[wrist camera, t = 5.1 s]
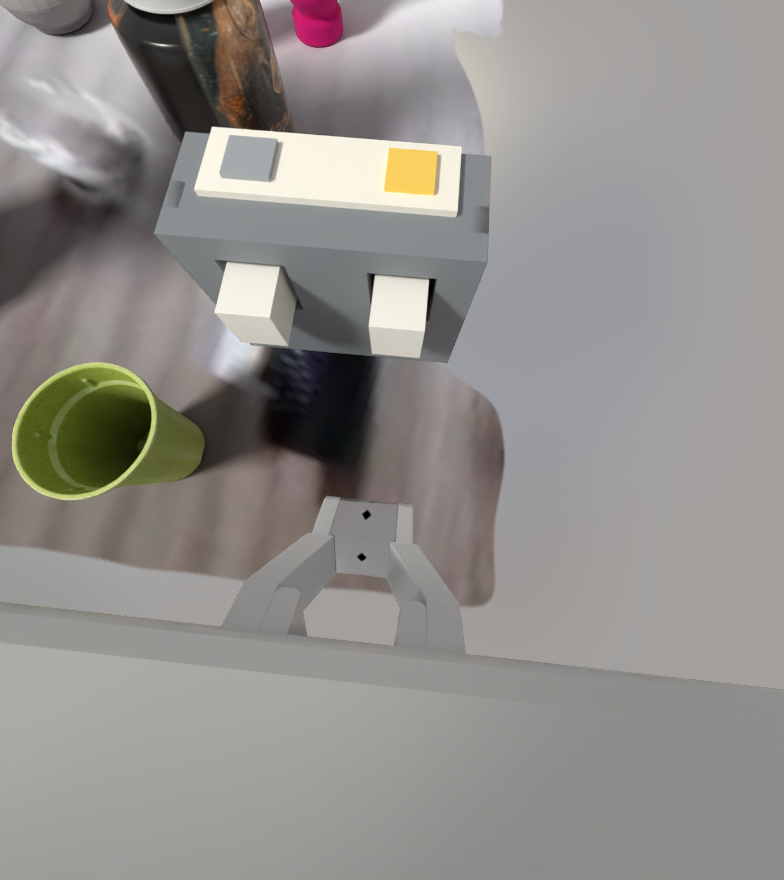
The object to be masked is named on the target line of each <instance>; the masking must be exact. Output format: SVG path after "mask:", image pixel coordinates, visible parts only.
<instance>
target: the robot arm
mask: <svg viewBox="0 0 784 880" xmlns="http://www.w3.org/2000/svg"><path fill="white" fill-rule="evenodd" d="M413 509H414V507H413V505H410V504H399V503H388V502H377V501H365V500H358V499H350V498H342V497H341V498H339V497H332V496H326V498H325V499H324V501H323V504H322V507H321V509H320V512H319V515H318V518H317V520H316V523H315V526H314V528H313V531H312V533H307V534H305V535H304V536H303V537H301V538H300V539H299V540H297V541H296V542H295V543H294V544H292V545H291V546H290V547H288V548H287V549H286V550H284V551H283V552H282V553H281V554H279V555H278V556H277V557H275V558H274V559H273V560H271V561H270V562H269V563H267V564H266V565H265V566H264V567H262V568H261V569H260V570H258V571H257V572H256V573H254V574H253V575H252V576H251V577H249V578H248V579H247V580H245V582H244V583H243V586H242V587H241V589H240V591H239V593H238V595H237V597H236V599H235V601H234V603H233V605H232V607H231V609H230V611H229V612H228V614H227V616H226V618H225V620H224V622H223V624H222V626H221V627H219V626H210V625H201V624H192V623H183V622H174V621H165V620H156V619H147V618H138V617H129V616H121V615H112V614H103V613H93V612H84V611H76V610H67V609H58V608H49V607H40V606H31V605H22V604H13V603H4V602H0V880H784V689H775V688H765V687H757V686H748V685H739V684H730V683H720V682H712V681H703V680H694V679H685V678H676V677H667V676H658V675H649V674H640V673H631V672H622V671H613V670H604V669H595V668H587V667H578V666H568V665H559V664H550V663H541V662H533V661H524V660H515V659H506V658H496V657H487V656H479V655H469V654H466V653H465V644H464V636H463V627H462V619H461V611H460V604H459V603H458V602H457V600H456V599H455V597H454V596H453V594H452V593H451V592H450V590H449V589H448V587H447V586H446V584H445V583H444V582H443V580H442V579H441V577H440V576H439V574H438V573H437V572H436V570H435V569H434V567H433V566H432V564H431V563H430V562H429V560H428V559H427V557H426V556H425V554H424V553H423V552H422V550H421V549H420V547H419V546H418V545H417V544H413ZM336 573H348V574H360V575H368V576H375V577H383V578H387V581H388V584H389V586H390V588H391V590H392V592H393V594H394V597H395V598H396V601H397V603H398V605H399V607H400V612H399V618H398V624H397V630H396V636H395V642H394V646H389V645H381V644H372V643H362V642H354V641H345V640H336V639H327V638H318V637H309V636H307V632H306V626H305V620H304V613H303V610H304V609H305V608H306V607H307V606H308V605H309V604H310V602H311V601H312V600H313V599H314V598H315V597H316V596H317V595H318V593H319V592H320V591H321V590H322V589H323V588H324V587H325V586H326V584H327V583H328V582H329V581H330V580H331V579H332V578H333V577H334V575H335V574H336Z"/></svg>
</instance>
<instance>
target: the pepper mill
mask: <svg viewBox="0 0 784 880" xmlns="http://www.w3.org/2000/svg"><path fill="white" fill-rule="evenodd" d="M290 1H291V2H292V3H293V5H294V7H293V12H292V15H293V20H294V25H295V30H296V34H297V36H298V38H299V39H300V40H301V41H302V42H303V43H304V44H306V45H309V46H312V47H325V46H329V45H331V44H333V43H335V42H336V41H338V40H339V38H340V37H341V35H342V32H343V24H342V14H341V8H340V6H339V4H338V3H337V0H290Z"/></svg>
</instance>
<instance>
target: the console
mask: <svg viewBox="0 0 784 880" xmlns="http://www.w3.org/2000/svg"><path fill="white" fill-rule="evenodd" d="M461 150H462V146H449V145H437V144H424V143H411V142H399V141H386V140H374V139H361V138H348V137H336V136H323V135H310V134H298V133H285V132H273V131H260V130H247V129H235V128H222V127H212V128H211V132H210V134H207V133H195V132H185V135H184V138H183V141H182V144H181V147H180V151H179V154H178V157H177V160H176V163H175V167H174V170H173V173H172V176H171V180H170V183H169V186H168V189H167V192H166V196H165V199H164V202H163V205H162V208H161V212H160V215H159V218H158V221H157V224H156V228H155V231H154V234H155V236H156V237H157V238H158V239H159V240H160V241H161V242H162V244H163V245H164V246H165V247H166V248H167V249H168V250H169V252H170V253H171V254H172V255H173V256H174V257H175V258H176V260H177V261H178V262H179V263H180V264H181V265H182V266H183V268H184V269H185V270H186V271H187V272H188V273H189V274H190V276H191V277H192V278H193V279H194V280H195V281H196V282H197V284H198V285H199V286H200V287H201V288H202V289H203V290H204V292H205V293H206V294H207V295H208V296H209V297H210V298H211V300H212V301H213V302H214V303H215V304H217V300H218V296H219V292H220V288H221V284H222V280H223V276H224V272H225V268H226V264H227V261H234V262H246V263H257V264H269V265H280V266H284V267H285V269H286V272H287V274H288V276H289V278H290V280H291V283H292V285H293V287H294V289H295V292H296V294H297V301H296V306H295V312H294V317H293V323H292V328H291V333H290V339H289V344H288V346H280V345H269V344H258V343H250V344H251V345H257V346H268V347H279V348H290V349H300V350H311V351H322V352H333V353H344V354H355V355H366V356H377V357H388V358H399V359H410V360H421V361H432V362H444V363H447V362H448V360H449V357H450V355H451V352H452V350H453V347H454V345H455V342H456V339H457V337H458V335H459V332H460V330H461V327H462V325H463V322H464V320H465V317H466V314H467V312H468V310H469V307H470V305H471V302H472V299H473V297H474V294H475V292H476V290H477V287H478V285H479V282H480V280H481V277H482V275H483V272H484V269H485V267H486V264H487V259H488V232H489V206H490V177H491V156H483V155H471V154H461ZM375 274H384V275H396V276H407V277H419V278H429V286H428V298H427V310H426V322H425V333H424V338H423V343H422V348H421V353H420V358H412V357H401V356H390V355H379V354H372V350H371V342H370V334H369V319H370V311H371V303H372V295H373V287H374V280H375Z"/></svg>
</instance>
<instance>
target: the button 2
mask: <svg viewBox="0 0 784 880" xmlns="http://www.w3.org/2000/svg"><path fill="white" fill-rule="evenodd" d="M428 286H429V278H419V277H407V276H396V275H384V274H375V280H374V287H373V295H372V303H371V311H370V319H369V334H370V342H371V350H372V354H379V355H390V356H401V357H412V358H420V353H421V348H422V343H423V338H424V333H425V322H426V310H427V298H428Z"/></svg>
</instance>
